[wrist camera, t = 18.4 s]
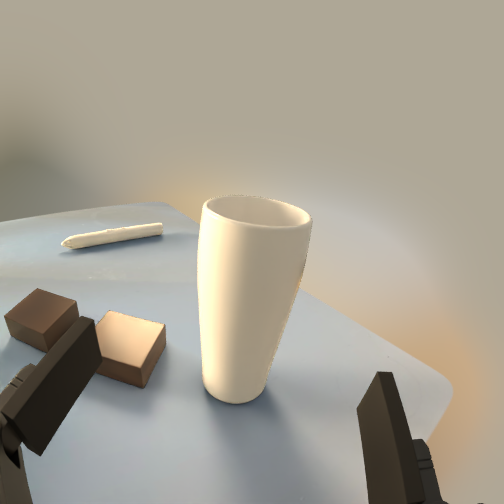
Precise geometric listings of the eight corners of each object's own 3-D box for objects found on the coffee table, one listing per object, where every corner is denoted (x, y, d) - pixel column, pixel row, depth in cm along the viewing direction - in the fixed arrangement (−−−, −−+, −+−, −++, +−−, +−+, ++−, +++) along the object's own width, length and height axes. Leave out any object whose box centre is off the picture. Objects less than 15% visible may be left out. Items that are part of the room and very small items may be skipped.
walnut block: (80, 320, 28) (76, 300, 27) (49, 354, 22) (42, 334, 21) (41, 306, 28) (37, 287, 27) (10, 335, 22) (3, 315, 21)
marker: (62, 253, 40) (60, 239, 39) (61, 248, 41) (59, 234, 40) (163, 236, 51) (163, 223, 50) (158, 232, 53) (158, 219, 52)
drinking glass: (223, 346, 28) (241, 190, 22) (286, 377, 25) (328, 213, 19) (176, 385, 23) (177, 204, 17) (246, 427, 20) (286, 239, 14)
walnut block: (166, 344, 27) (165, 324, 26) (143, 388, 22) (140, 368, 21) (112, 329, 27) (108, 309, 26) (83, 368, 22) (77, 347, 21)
